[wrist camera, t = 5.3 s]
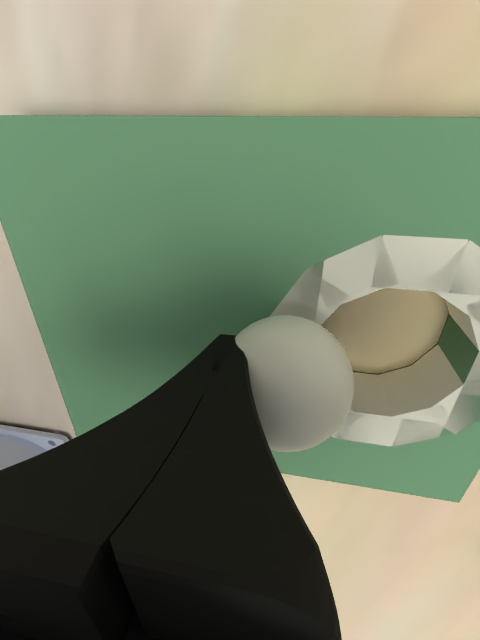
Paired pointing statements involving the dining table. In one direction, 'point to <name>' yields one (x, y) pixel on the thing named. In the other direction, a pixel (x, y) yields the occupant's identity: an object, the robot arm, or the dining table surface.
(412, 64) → the dining table surface
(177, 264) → the putting mat
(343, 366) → the ball
